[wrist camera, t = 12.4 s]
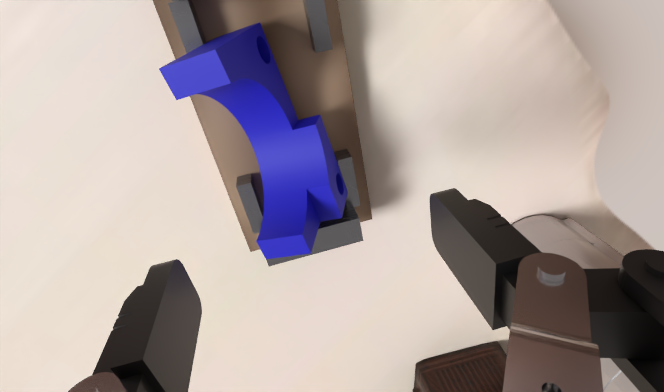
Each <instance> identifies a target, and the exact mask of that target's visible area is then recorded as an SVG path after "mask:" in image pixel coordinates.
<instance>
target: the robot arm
mask: <svg viewBox="0 0 664 392" xmlns="http://www.w3.org/2000/svg"><path fill="white" fill-rule="evenodd" d="M430 213H431V228H432V237H433V241H434V244H435V247H436V249H437V251H438V252H439V254H440V255H441V257H442V258H443V260H444V261H445V262H446V264H447V265H448V267H449V268H450V270H451V271H452V272H453V274H454V275H455V277H456V278H457V280H458V281H459V282H460V284H461V285H462V287H463V288H464V290H465V291H466V292H467V294H468V295H469V297H470V298H471V300H472V301H473V302H474V304H475V305H476V307H477V308H478V310H479V311H480V312H481V314H482V315H483V317H484V318H485V319H486V321H487V322H488V324H489V325H490V327H491V328H492V329H493V330H494V329H498V328H501V327H505V326H507V327H508V328H509V329H510V335H509V343H508V351H507V359H506V367H505V375H504V383H503V392H664V252H663V251H658V250H647V249H646V250H636V251H632V252H630V253H628V254H626V255H625V256H623V255H622V254H620V253H619V252H617V251H616V250H615V249H613V248H612V247H610V246H609V245H608V244H606V243H605V242H603V241H602V240H601V239H599V238H598V237H596V236H595V235H593V234H592V233H591V232H589V231H588V230H586V229H585V228H584V227H582V226H581V225H579V224H578V223H577V222H575V221H574V220H572V219H571V218H568V219H564V220H560V219H557V218H555V217H552V216H547V215H538V216H532V217H528V218H524V219H522V220H520V221H518V222H515V223H514V224H512V225H510V224H509V222H508V221H507V220H506V219H505V218H504V217H501V215H500V214H499V213H498V212H497V211H496V210H495V209H494V208H492V207H491V206H490V205H488V204H486V203H483V202H481V201H479V200H476V199H473V200H469V201H468V200H467V199H466V198H465V197H464V196H463V195H462V194H461V193H460V192H459V191H458V190H457V189H455V188H453V189H449V190H445V191H441V192H437V193H433V194H431V195H430ZM201 314H202V308H201V302H200V298H199V295H198V293H197V291H196V289H195V287H194V286H193V284H192V282H191V280H190V278H189V276H188V274H187V272H186V270H185V268H184V266H183V264H182V263H181V262H180V261H179V260H177V259H176V260H172V261H169V262H165V263H161V264H157V265H153V266H151V267H150V269H149V272H148V274H147V277H146V279H145V282H144V284H143V285H142V286H138V287H136V289H135V290H134V291H133V292H132V293H131V294H130V295H129V297H128V298H127V299H126V300H125V301H124V304H123V306H122V308H121V311H120V313H119V315H118V316H119V318H117V320H116V322H115V324H114V326H113V331H111V333H110V336H109V338H108V340H107V342H106V345H105V347H104V349H103V352H102V354H101V356H100V358H99V361H98V363H97V365H96V368H95V370H94V372H93V374H92V376H89V377H87V378H86V379H84V380H82V381H81V382H79V383H78V384H76V385H75V386H74V387H73V388H71V389H70V390H69V391H68V392H188V388H189V382H190V376H191V371H192V365H193V359H194V354H195V348H196V343H197V337H198V331H199V326H200V320H201Z"/></svg>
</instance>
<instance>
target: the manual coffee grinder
mask: <svg viewBox="0 0 664 392" xmlns="http://www.w3.org/2000/svg"><path fill="white" fill-rule="evenodd" d="M506 359H507V355H506V353H505V352H504V350H503V349H502V348H501V346H500V344H499V343H498V342H492V343H487V344H482V345H478V346H474V347H470V348H466V349H462V350H459V351H455V352H451V353H447V354H443V355H440V356H436V357H432V358H429V359H425V360H422V361H420V362H418V363H417V364H416V369H415V382H414V389H413V392H503V383H504V375H505V367H506Z"/></svg>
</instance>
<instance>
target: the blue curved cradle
mask: <svg viewBox="0 0 664 392" xmlns="http://www.w3.org/2000/svg"><path fill="white" fill-rule="evenodd" d="M159 70H160V71H161V73H162V75H163V77H164V78H165V80H166V82H167V84H168V86H169V87H170V89H171V91H172V93H173V94H174V96H175V98H176V100H178V99H181V98H185V97H188V96H191V95H194V94H201V95H205V96H208V97H211V98H212V99H214V100H216V101H218V102H219V103H221V104H222V105H223V106H224V107H226V108H227V109H228V110H229V111H230V112H231V113H232V114H233V116H234V117H235V118H236V119H237V121H238V122H239V123H240V125H241V126H242V128H243V129H244V131H245V133H246V135H247V136H248V138H249V140H250V142H251V145H252V147H253V149H254V152H255V155H256V157H257V161H258V164H259V168H260V172H261V177H262V183H263V191H264V213H263V220H262V225H261V230H260V233H259V236H258V238H257V240H256V242H257V244H258V245H259V247H260V249H261V251H262V253H263V254H264V256H265V258H266V259H272V258H280V257H288V256H295V255H303V254H310V253H311V252H312V248H313V245H314V242H315V238H316V235H317V231H318V228H319V225H320V221H327V220H333V219H339V218H342V216H343V211H344V207H345V202H346V198H347V193H348V191H347V188H346V185H345V182H344V180H343V177H342V174H341V171H340V168H339V166H338V163H337V160H336V157H335V154H334V152H333V149H332V146H331V143H330V140H329V138H328V135H327V132H326V129H325V127H324V124H323V121H322V118H321V115H316V116H312V117H308V118H304V119H300V120H298V118H297V115H296V113H295V110H294V107H293V105H292V102H291V100H290V97H289V95H288V92H287V90H286V87H285V85H284V82H283V80H282V77H281V74H280V72H279V69H278V67H277V64H276V62H275V59H274V57H273V54H272V52H271V49H270V46H269V44H268V41H267V39H266V36H265V34H264V31H263V29H262V26H261V24H260V22H259V23H256V24H253V25H250V26H247V27H245V28H242V29H239V30H236V31H233V32H231V33H228V34H225V35H222V36H219V37H217V38H214V39H212V40H210V41H209V42H207V43H205V44H203V45H201V46H200V47H198V48H196V49H194V50H192V51H190V52H189V53H187V54H185V55H183V56H181V57H180V58H178V59H176V60H174V61H172V62H170V63H169V64H167V65H165V66H163V67H161V68H160V69H159Z"/></svg>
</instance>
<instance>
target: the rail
mask: <svg viewBox="0 0 664 392" xmlns="http://www.w3.org/2000/svg"><path fill="white" fill-rule="evenodd" d="M153 2H154V5H155V7H156V10H157V13H158V15H159V18H160V20H161V23H162V25H163V28H164V31H165V33H166V36H167V38H168V41H169V43H170V46H171V49H172V51H173V54H174V56H175V59H178V58H180V57H181V56H183V55H185V54H187V53H189V52H190V51H192V50H194V49H196V48H198V47H200V46H201V45H203V44H205V43H207V42H209V41H210V40H212V39H214V38H217V37H219V36H222V35H225V34H228V33H231V32H233V31H236V30H239V29H242V28H245V27H247V26H250V25H253V24H256V23H259V22H260V24H261V26H262V29H263V31H264V34H265V36H266V39H267V41H268V44H269V46H270V49H271V52H272V54H273V57H274V59H275V62H276V64H277V67H278V69H279V72H280V74H281V77H282V80H283V82H284V85H285V87H286V90H287V92H288V95H289V97H290V100H291V102H292V105H293V107H294V110H295V113H296V115H297V118H298V120H300V119H304V118H308V117H312V116H316V115H321V118H322V121H323V124H324V127H325V129H326V132H327V135H328V138H329V140H330V143H331V146H332V149H333V152H334V154H335V157H336V160H337V163H338V166H339V168H340V171H341V174H342V177H343V180H344V182H345V185H346V188H347V191H348V193H347V198H346V202H345V207H344V211H343V216H342V218H339V219H333V220H327V221H320V225H319V228H318V231H317V235H316V238H315V242H314V245H313V248H312V252H311V253H310V254H303V255H295V256H288V257H280V258H272V259H266V260H267V262H268V265H269V266H272V265H275V264H279V263H283V262H286V261H290V260H294V259H297V258H301V257H305V256H308V255H312V254H316V253H319V252H323V251H327V250H330V249H334V248H338V247H341V246H345V245H349V244H352V243H356V242H360V241H363V237H362V232H361V226H360V222H363V221H366V220H370V219H372V214H371V208H370V202H369V196H368V189H367V183H366V177H365V171H364V165H363V158H362V152H361V146H360V140H359V134H358V127H357V121H356V115H355V109H354V102H353V96H352V90H351V84H350V78H349V71H348V65H347V59H346V53H345V47H344V40H343V34H342V28H341V22H340V15H339V9H338V3H337V0H153ZM190 97H191V100H192V102H193V105H194V108H195V110H196V113H197V115H198V118H199V120H200V123H201V126H202V128H203V131H204V133H205V136H206V138H207V141H208V144H209V146H210V149H211V151H212V154H213V156H214V159H215V162H216V164H217V167H218V169H219V172H220V174H221V177H222V180H223V182H224V185H225V187H226V190H227V192H228V195H229V198H230V200H231V203H232V205H233V208H234V210H235V213H236V215H237V218H238V221H239V223H240V226H241V228H242V231H243V233H244V236H245V239H246V241H247V244H248V246H249V249H250V251H255V250H259V249H260V247H259V245H258V244H257V242H256V240H257V238H258V236H259V233H260V230H261V225H262V220H263V213H264V191H263V183H262V177H261V172H260V168H259V164H258V161H257V157H256V155H255V152H254V149H253V147H252V145H251V142H250V140H249V138H248V136H247V135H246V133H245V131H244V129H243V128H242V126H241V125H240V123H239V122H238V121H237V119H236V118H235V117H234V116H233V114H232V113H231V112H230V111H229V110H228V109H227V108H226V107H224V106H223V105H222V104H221V103H219V102H218V101H216V100H214V99H212V98H211V97H208V96H205V95H201V94H194V95H191V96H190Z"/></svg>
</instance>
